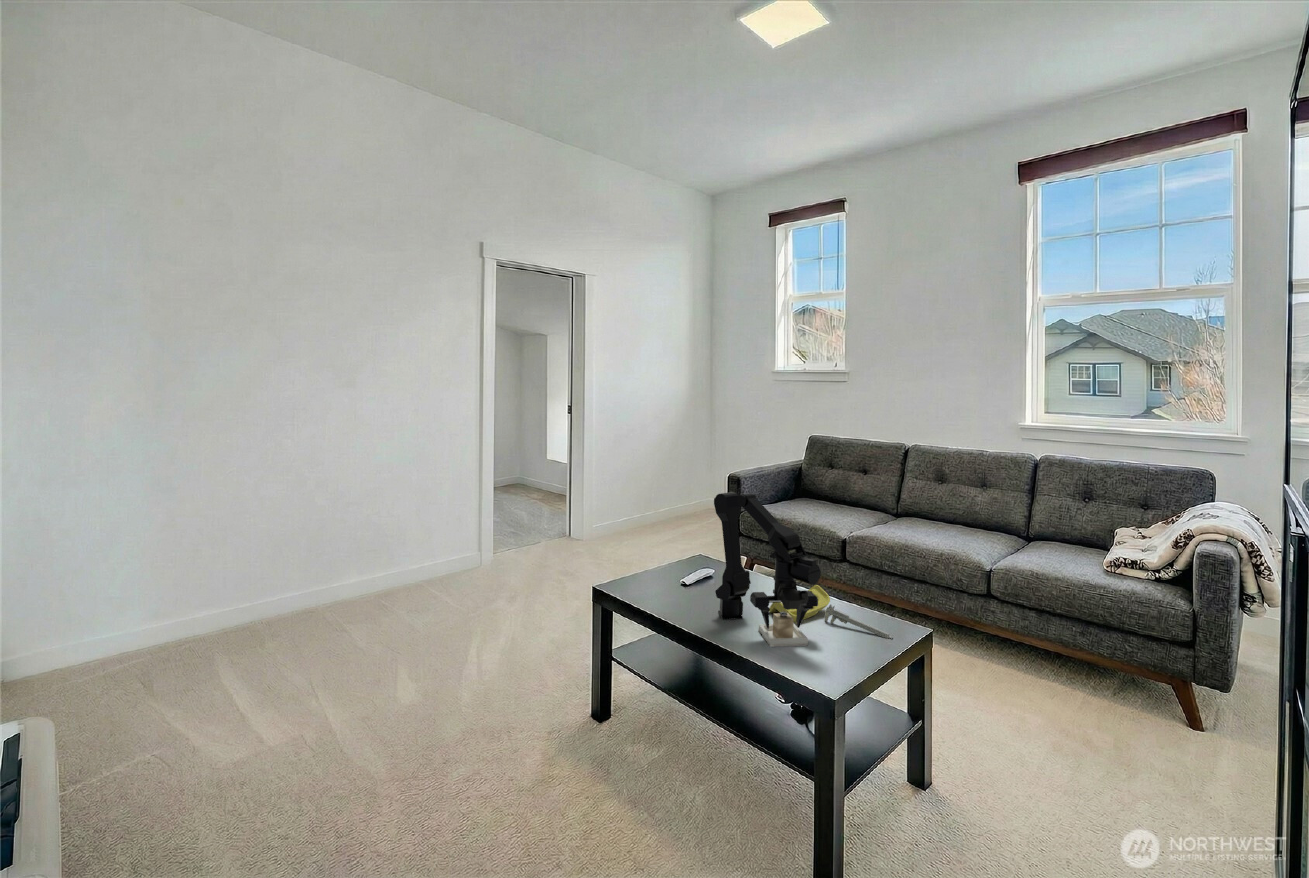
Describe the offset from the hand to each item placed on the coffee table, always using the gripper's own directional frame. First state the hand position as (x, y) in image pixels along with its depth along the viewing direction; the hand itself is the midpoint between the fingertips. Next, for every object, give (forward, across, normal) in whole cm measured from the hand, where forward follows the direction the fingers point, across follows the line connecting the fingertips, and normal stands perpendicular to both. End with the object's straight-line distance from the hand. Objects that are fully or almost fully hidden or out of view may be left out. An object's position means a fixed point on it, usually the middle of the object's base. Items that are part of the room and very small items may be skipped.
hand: (782, 627), depth 174 cm
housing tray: (+3, 0, 0) cm, 3 cm away
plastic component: (+4, +13, +18) cm, 23 cm away
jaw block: (+2, 0, 0) cm, 2 cm away
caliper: (+4, +25, +4) cm, 26 cm away
